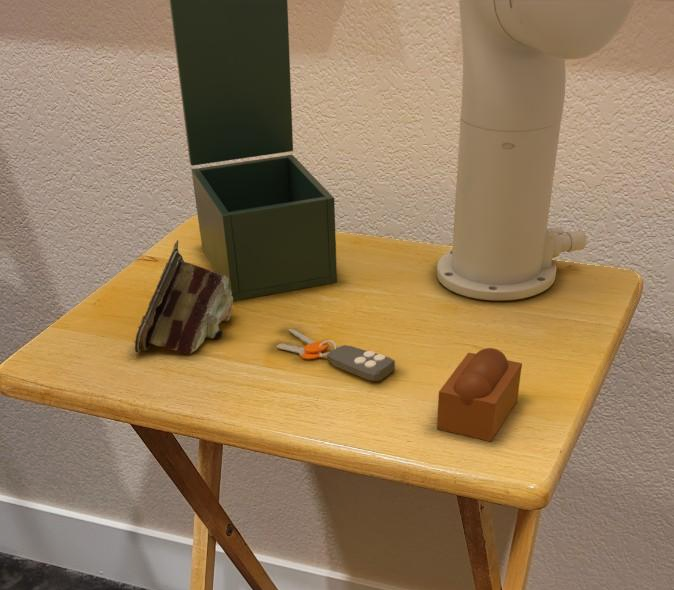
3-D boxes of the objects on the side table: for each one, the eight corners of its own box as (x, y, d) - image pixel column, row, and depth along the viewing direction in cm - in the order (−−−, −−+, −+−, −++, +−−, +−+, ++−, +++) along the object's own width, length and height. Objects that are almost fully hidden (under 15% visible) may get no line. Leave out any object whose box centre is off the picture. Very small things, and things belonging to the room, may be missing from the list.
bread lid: (287, -14, 86) (270, -30, 90) (170, -2, 84) (158, -19, 88) (293, 151, 98) (278, 131, 102) (191, 166, 96) (179, 144, 99)
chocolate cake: (202, 372, 82) (242, 249, 82) (129, 347, 82) (170, 224, 82) (213, 392, 92) (249, 282, 92) (148, 370, 92) (185, 259, 91)
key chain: (399, 369, 81) (399, 354, 80) (375, 386, 79) (375, 371, 78) (291, 331, 87) (290, 317, 86) (266, 346, 85) (265, 332, 84)
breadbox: (337, 282, 95) (334, 197, 89) (232, 301, 92) (222, 215, 86) (297, 233, 105) (292, 154, 99) (202, 249, 102) (191, 168, 96)
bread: (517, 399, 77) (524, 346, 73) (490, 442, 72) (496, 388, 69) (465, 388, 78) (469, 336, 75) (436, 429, 74) (439, 376, 70)
